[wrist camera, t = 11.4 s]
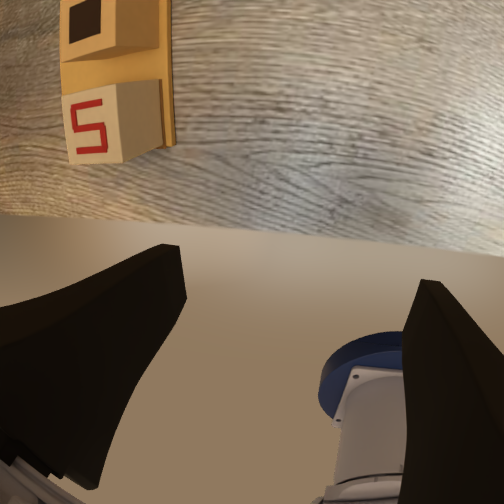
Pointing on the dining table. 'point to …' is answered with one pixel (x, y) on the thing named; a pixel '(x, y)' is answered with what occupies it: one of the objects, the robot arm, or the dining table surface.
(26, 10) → the dining table surface
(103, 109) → the letter s
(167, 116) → the yellow wooden block holder
